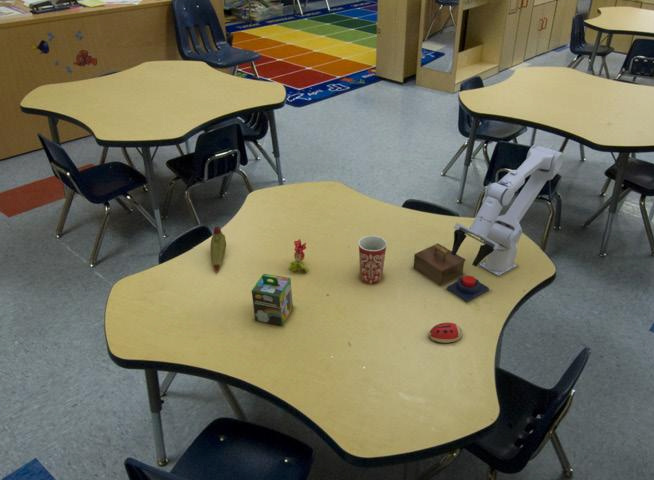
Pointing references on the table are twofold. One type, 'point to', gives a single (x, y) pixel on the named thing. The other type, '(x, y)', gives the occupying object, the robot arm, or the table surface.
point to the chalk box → (272, 299)
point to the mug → (371, 258)
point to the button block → (467, 290)
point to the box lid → (439, 257)
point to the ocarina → (217, 248)
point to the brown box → (436, 274)
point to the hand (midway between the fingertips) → (463, 260)
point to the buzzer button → (468, 281)
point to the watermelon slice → (446, 332)
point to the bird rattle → (298, 256)
